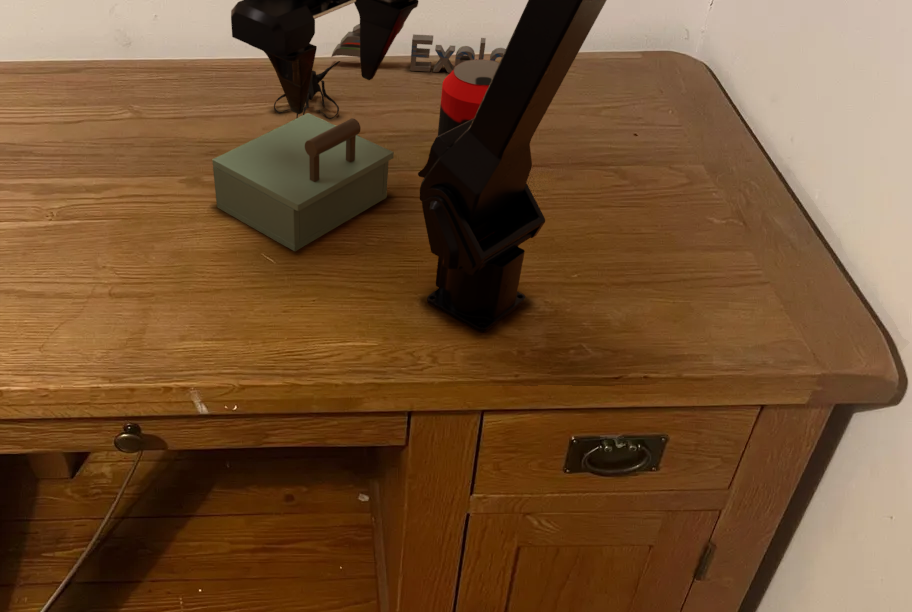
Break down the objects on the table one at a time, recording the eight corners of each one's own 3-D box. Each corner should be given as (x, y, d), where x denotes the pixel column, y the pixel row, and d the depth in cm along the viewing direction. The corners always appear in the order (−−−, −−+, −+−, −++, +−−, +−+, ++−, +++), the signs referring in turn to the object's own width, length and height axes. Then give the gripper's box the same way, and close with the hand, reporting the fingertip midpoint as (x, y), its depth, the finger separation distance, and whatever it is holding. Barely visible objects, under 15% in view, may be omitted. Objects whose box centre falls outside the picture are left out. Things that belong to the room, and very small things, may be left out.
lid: (393, 158, 91) (396, 112, 88) (298, 211, 84) (297, 163, 81) (308, 118, 97) (307, 74, 94) (212, 165, 90) (208, 119, 87)
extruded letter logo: (331, 66, 117) (331, 21, 113) (332, 61, 118) (333, 16, 114) (529, 77, 114) (536, 32, 110) (529, 72, 115) (536, 26, 111)
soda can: (435, 201, 94) (446, 89, 86) (431, 163, 99) (440, 55, 91) (509, 201, 94) (527, 89, 85) (501, 164, 99) (517, 55, 91)
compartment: (386, 197, 95) (389, 156, 91) (294, 251, 88) (293, 209, 85) (308, 159, 100) (308, 119, 97) (216, 207, 94) (212, 166, 90)
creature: (333, 134, 106) (348, 90, 111) (331, 96, 102) (347, 52, 106) (269, 127, 108) (285, 84, 112) (264, 89, 103) (282, 45, 108)
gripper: (342, -139, 80) (339, 37, 91) (177, -90, 71) (196, 100, 82) (441, -112, 75) (425, 72, 86) (277, -55, 66) (282, 143, 77)
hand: (332, 94), depth 83 cm, fingers open, 9 cm apart
